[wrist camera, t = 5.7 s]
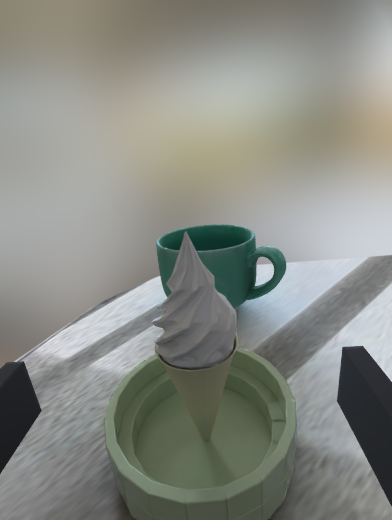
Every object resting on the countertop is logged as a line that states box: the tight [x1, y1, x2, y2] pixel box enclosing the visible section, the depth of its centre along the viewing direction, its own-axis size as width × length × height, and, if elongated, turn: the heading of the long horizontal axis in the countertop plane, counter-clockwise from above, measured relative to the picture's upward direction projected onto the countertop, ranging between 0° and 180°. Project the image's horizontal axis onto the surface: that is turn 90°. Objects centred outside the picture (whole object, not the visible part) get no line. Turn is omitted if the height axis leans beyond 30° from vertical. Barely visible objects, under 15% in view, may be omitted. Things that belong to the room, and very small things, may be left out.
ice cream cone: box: [152, 231, 238, 441], centre depth 18 cm, size 5×5×15 cm
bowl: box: [104, 347, 297, 520], centre depth 20 cm, size 12×12×4 cm
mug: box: [156, 225, 286, 308], centre depth 37 cm, size 17×13×10 cm
